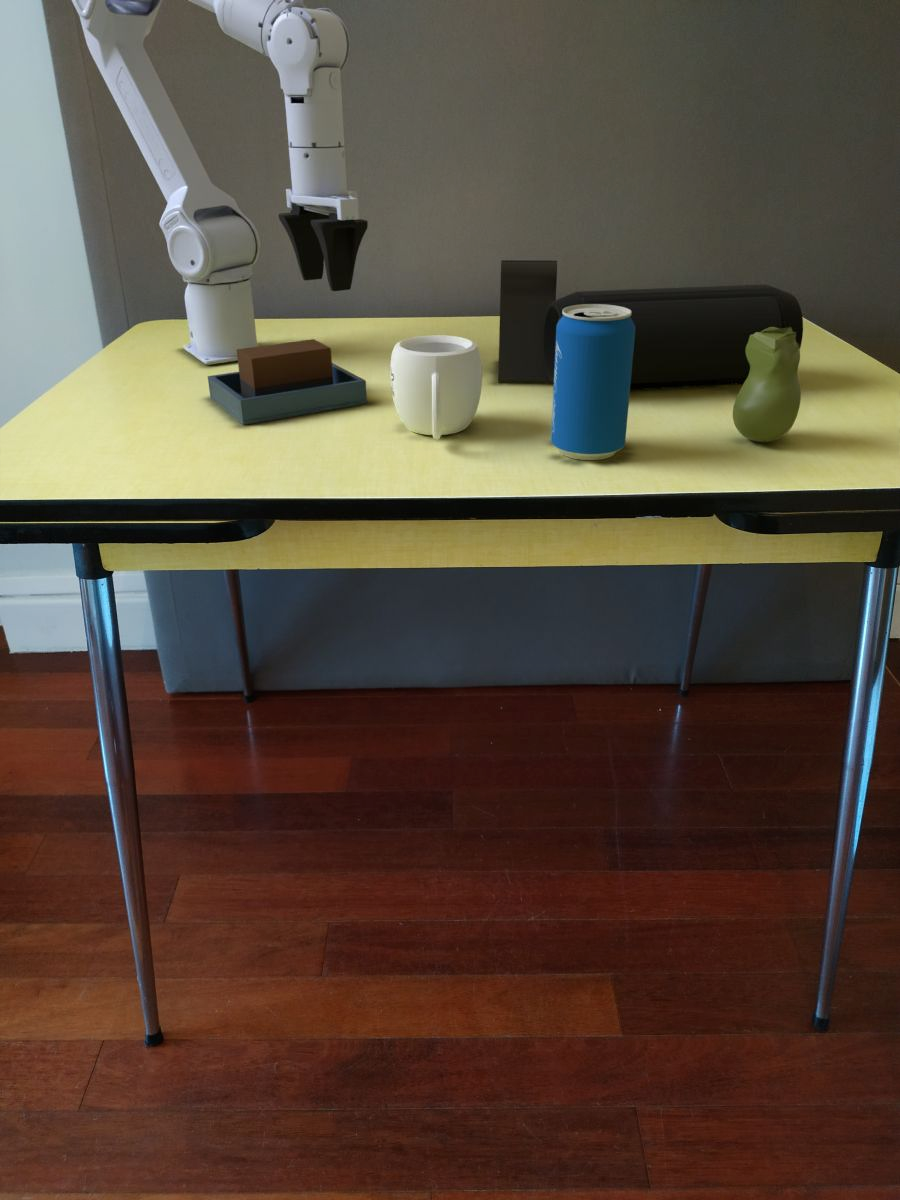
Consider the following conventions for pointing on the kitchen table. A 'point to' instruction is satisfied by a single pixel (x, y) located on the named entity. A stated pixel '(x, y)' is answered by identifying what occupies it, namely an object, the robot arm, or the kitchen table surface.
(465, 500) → the kitchen table surface
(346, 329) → the kitchen table surface
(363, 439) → the kitchen table surface
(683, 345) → the portable speaker
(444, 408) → the mug
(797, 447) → the kitchen table surface
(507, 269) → the phone stand
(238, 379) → the tray
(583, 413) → the beverage can
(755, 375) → the pear
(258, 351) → the eraser
